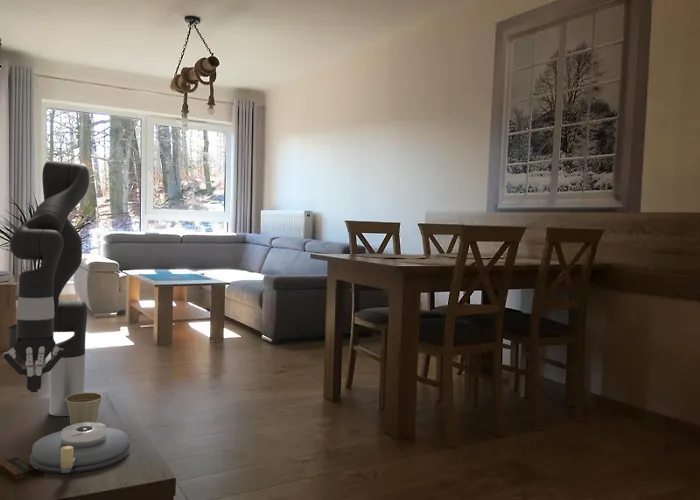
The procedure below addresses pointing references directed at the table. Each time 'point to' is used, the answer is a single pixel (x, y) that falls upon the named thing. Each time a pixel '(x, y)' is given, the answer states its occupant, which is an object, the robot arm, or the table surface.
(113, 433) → the turntable
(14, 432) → the table surface
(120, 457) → the turntable base
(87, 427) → the cover
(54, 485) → the table surface
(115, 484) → the table surface
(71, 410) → the flower pot
